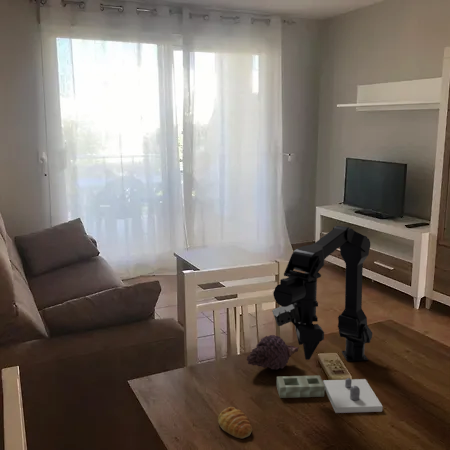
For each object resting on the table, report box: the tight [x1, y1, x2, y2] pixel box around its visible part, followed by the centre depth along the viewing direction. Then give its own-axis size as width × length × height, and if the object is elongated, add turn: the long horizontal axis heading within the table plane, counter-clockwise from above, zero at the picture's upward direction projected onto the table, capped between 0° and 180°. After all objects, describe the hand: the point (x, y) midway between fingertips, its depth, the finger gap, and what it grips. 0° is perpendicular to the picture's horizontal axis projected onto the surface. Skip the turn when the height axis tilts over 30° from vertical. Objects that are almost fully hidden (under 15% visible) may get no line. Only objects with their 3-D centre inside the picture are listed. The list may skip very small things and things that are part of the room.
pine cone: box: [246, 334, 300, 370], centre depth 154 cm, size 18×10×10 cm, turn 120°
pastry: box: [217, 406, 253, 440], centre depth 125 cm, size 9×7×4 cm
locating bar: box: [276, 374, 326, 399], centre depth 141 cm, size 12×6×3 cm, turn 93°
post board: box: [322, 377, 384, 414], centre depth 138 cm, size 14×12×5 cm
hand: (303, 351), depth 139 cm, fingers open, 9 cm apart
